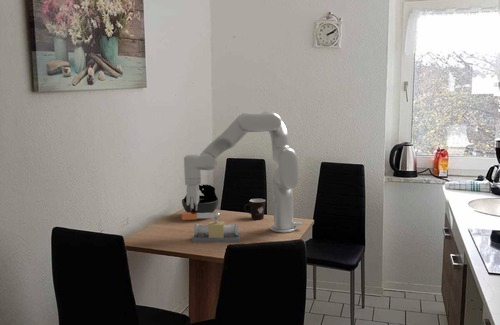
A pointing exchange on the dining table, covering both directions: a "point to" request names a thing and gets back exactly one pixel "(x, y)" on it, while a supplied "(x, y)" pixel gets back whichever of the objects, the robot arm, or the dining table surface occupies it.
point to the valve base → (226, 239)
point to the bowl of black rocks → (204, 200)
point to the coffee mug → (256, 208)
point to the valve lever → (199, 215)
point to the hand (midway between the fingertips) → (194, 218)
